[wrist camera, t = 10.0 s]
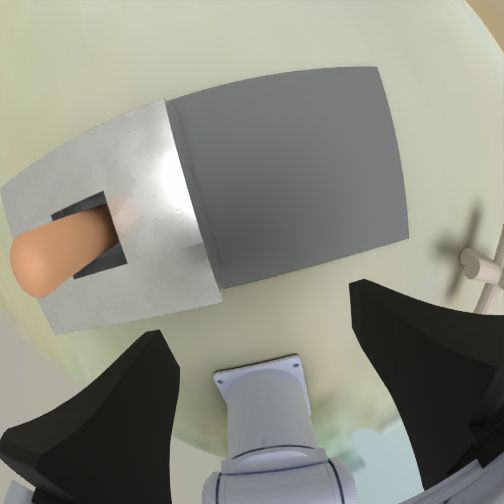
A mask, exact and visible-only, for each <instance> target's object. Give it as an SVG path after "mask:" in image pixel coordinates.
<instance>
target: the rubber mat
mask: <svg viewBox="0 0 504 504" xmlns="http://www.w3.org/2000/svg"><path fill="white" fill-rule="evenodd" d="M167 102H168V103H170V104H171V105H172V106H173V107H174V108H175V109H176V110H177V111H179V115H180V119H181V123H182V127H183V131H184V135H185V138H186V142H187V146H188V150H189V153H190V157H191V161H192V165H193V168H194V172H195V175H196V179H197V183H198V186H199V190H200V193H201V197H202V200H203V204H204V207H205V211H206V214H207V218H208V221H209V224H210V228H211V231H212V234H213V238H214V241H215V244H216V248H217V251H218V254H219V258H220V261H221V264H222V267H223V270H224V274H225V282H224V289H226V288H230V287H234V286H238V285H242V284H246V283H250V282H254V281H258V280H262V279H265V278H269V277H273V276H277V275H281V274H285V273H288V272H292V271H296V270H300V269H303V268H307V267H311V266H315V265H318V264H322V263H326V262H329V261H333V260H336V259H340V258H343V257H347V256H350V255H354V254H357V253H361V252H364V251H368V250H371V249H375V248H378V247H381V246H385V245H388V244H392V243H395V242H398V241H401V240H405V239H408V238H409V229H408V215H407V205H406V196H405V187H404V180H403V173H402V167H401V161H400V155H399V150H398V144H397V139H396V135H395V130H394V126H393V121H392V117H391V113H390V109H389V105H388V102H387V98H386V94H385V91H384V88H383V84H382V81H381V78H380V75H379V72H378V69H377V67H337V68H323V69H311V70H302V71H294V72H286V73H280V74H273V75H267V76H262V77H256V78H251V79H246V80H242V81H237V82H233V83H229V84H224V85H220V86H217V87H213V88H209V89H205V90H202V91H198V92H195V93H192V94H188V95H185V96H182V97H179V98H176V99H173V100H170V101H167ZM106 203H107V201H106V197H105V194H104V195H101V196H99V197H97V198H94V199H92V200H90V201H87V202H85V203H83V204H81V208H82V211H84V210H87V209H90V208H93V207H96V206H99V205H102V204H106ZM121 252H124V251H123V249H122V246H121V243H120V242H119V243H117V244H116V245H114V246H113V247H111V248H110V249H109V250H107V251H106V252H104V253H103V254H101V255H100V256H99V259H102V258H105V257H108V256H111V255H114V254H117V253H121Z"/></svg>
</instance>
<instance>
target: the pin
mask: <svg viewBox="0 0 504 504" xmlns="http://www.w3.org/2000/svg"><path fill="white" fill-rule="evenodd" d="M119 242H120V240H119V238H118V235H117V232H116V229H115V226H114V223H113V220H112V217H111V214H110V210H109V207H108V204H107V203H106V204H102V205H99V206H96V207H93V208H90V209H87V210H84V211H81V212H78V213H75V214H72V215H69V216H67V217H64V218H61V219H58V220H56V221H53V222H50V223H48V224H45V225H42V226H40V227H37V228H35V229H32V230H30V231H27V232H25V233H22V234H20V235H18V236H17V237H16V238H15V240H14V241H13V243H12V246H11V252H10V260H11V266H12V270H13V273H14V275H15V278H16V280H17V282H18V283H19V285H20V286H21V287H22V288H23V290H24V291H25V292H27V293H28V294H29V295H31V296H33V297H35V298H44V297H46V296H47V295H49V294H50V293H51V292H52V291H54V290H55V289H56V288H57V287H59V286H60V285H61V284H62V283H64V282H65V281H66V280H68V279H69V278H70V277H72V276H73V275H74V274H75V273H77V272H78V271H79V270H81V269H82V268H84V267H85V266H86V265H88V264H89V263H90V262H92V261H93V260H94V259H96V258H97V257H99V256H100V255H101V254H103V253H104V252H106V251H107V250H109V249H110V248H111V247H113V246H114V245H116V244H117V243H119Z"/></svg>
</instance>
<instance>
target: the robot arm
mask: <svg viewBox="0 0 504 504" xmlns="http://www.w3.org/2000/svg"><path fill="white" fill-rule="evenodd" d="M349 291H350V303H351V318H352V328H353V331H354V333H355V335H356V337H357V339H358V341H359V344H360V346H361V348H362V349H363V351H364V353H365V354H366V356H367V357H368V359H369V360H370V362H371V364H372V365H373V367H374V368H375V370H376V371H377V373H378V375H379V376H380V378H381V379H382V381H383V382H384V384H385V386H386V387H387V389H388V391H389V392H390V394H391V396H392V398H393V400H394V402H395V405H396V407H397V409H398V411H399V414H400V416H401V418H402V421H403V423H404V426H405V428H406V431H407V434H408V436H409V439H410V442H411V445H412V448H413V451H414V454H415V458H416V461H417V465H418V469H419V472H420V476H421V481H422V485H423V488H424V490H425V491H424V492H422V493H420V494H418V495H417V496H414V497H412V498H410V499H408V500H406V501H404V502H402V503H399V504H442V503H443V504H504V315H485V314H477V313H469V312H463V311H457V310H453V309H449V308H444V307H440V306H436V305H433V304H430V303H427V302H424V301H421V300H417V299H415V298H412V297H409V296H407V295H404V294H401V293H399V292H396V291H394V290H391V289H389V288H386V287H384V286H382V285H379V284H377V283H374V282H371V281H369V280H366V279H362V280H359V281H355V282H352V283H349ZM296 363H297V364H296ZM294 364H296V365H294ZM213 379H214V381H215V383H216V385H217V387H218V389H219V391H220V393H221V395H222V397H223V399H224V401H225V402H226V404H227V460H223V461H222V472H213V473H212V474H211V475H210V477H209V478H208V479H207V480H206V481H205V483H204V486H203V492H202V504H358V495H357V489H356V485H355V481H354V478H353V475H352V473H351V471H350V469H349V467H348V466H347V464H346V463H344V462H343V461H341V460H340V459H339V458H337V457H332V458H327V454H326V451H325V448H319V446H318V443H317V439H316V435H315V432H314V428H313V425H312V421H311V417H310V414H311V410H310V404H309V399H308V394H307V389H306V384H305V379H304V374H303V369H302V364H301V359H300V357H299V356H298V355H293V356H289V357H285V358H281V359H277V360H273V361H269V362H265V363H260V364H256V365H251V366H246V367H242V368H237V369H231V370H226V371H221V372H216V373H214V375H213ZM219 380H222V381H219ZM179 384H180V367H179V365H178V363H177V361H176V360H175V358H174V356H173V354H172V352H171V350H170V348H169V347H168V345H167V343H166V341H165V339H164V337H163V335H162V333H161V331H160V330H154V331H149V332H146V333H144V334H143V335H142V336H141V337H139V338H138V339H137V340H136V341H135V342H134V343H133V344H132V345H131V346H130V347H129V348H128V349H127V350H126V351H125V352H124V353H123V354H122V355H121V356H120V357H119V358H118V359H117V360H116V361H115V362H114V363H113V364H112V365H111V366H109V367H108V368H107V369H106V370H105V371H104V372H103V373H102V374H101V375H100V376H99V377H98V378H97V379H95V380H94V381H93V382H92V383H91V384H90V385H88V386H87V387H86V388H85V389H83V390H82V391H81V392H79V393H78V394H77V395H75V396H74V397H73V398H71V399H69V400H68V401H66V402H65V403H63V404H62V405H60V406H58V407H57V408H55V409H53V410H52V411H50V412H48V413H46V414H44V415H42V416H40V417H38V418H36V419H34V420H32V421H29V422H26V423H23V424H21V425H18V426H15V427H12V428H9V429H7V430H6V431H5V432H4V434H3V436H2V437H1V439H0V459H1V460H2V461H3V462H4V463H5V464H7V465H8V466H9V467H10V468H11V469H12V470H14V471H15V472H16V473H17V474H19V475H20V476H21V477H23V478H24V479H25V480H26V481H28V482H29V483H30V484H32V485H33V486H35V487H36V489H35V492H33V491H31V490H30V489H28V488H26V487H24V486H23V485H21V484H19V483H17V482H15V481H13V480H12V481H11V483H10V486H9V489H8V491H7V494H6V497H5V499H4V502H3V504H172V500H171V491H170V473H169V472H170V468H169V461H170V440H171V433H172V427H173V422H174V416H175V411H176V405H177V400H178V394H179Z"/></svg>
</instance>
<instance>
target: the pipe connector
mask: <svg viewBox="0 0 504 504" xmlns="http://www.w3.org/2000/svg"><path fill="white" fill-rule="evenodd" d="M460 263H461V264H462V265H464V272H465V275H466V277H467V278H468V279H473V280H477V281H482V282H486V283H485V286H484V288H483V291H482V293H481V296H480V298H479V301H478V303H477V305H476V308H475V310H474V312H473V313H477V314H485V315H490V314H491V312H492V309H493V307H494V305H495V303H496V300H497V298H498V295H499V293H500V290H501V288H502V289H504V224H503V229H502V233H501V236H500V240H499V244H498V247H497V251H496V254H495V257H494V260H491V259H489V258H487V257H486V256H484V255H482V254H480V253H478V252H476V251H474V250H472V249H470V248H465V249H463V251H462V252H461V255H460Z"/></svg>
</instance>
